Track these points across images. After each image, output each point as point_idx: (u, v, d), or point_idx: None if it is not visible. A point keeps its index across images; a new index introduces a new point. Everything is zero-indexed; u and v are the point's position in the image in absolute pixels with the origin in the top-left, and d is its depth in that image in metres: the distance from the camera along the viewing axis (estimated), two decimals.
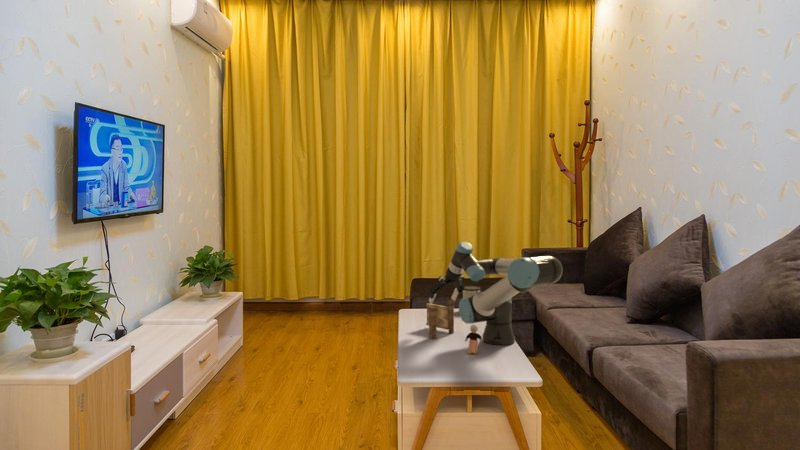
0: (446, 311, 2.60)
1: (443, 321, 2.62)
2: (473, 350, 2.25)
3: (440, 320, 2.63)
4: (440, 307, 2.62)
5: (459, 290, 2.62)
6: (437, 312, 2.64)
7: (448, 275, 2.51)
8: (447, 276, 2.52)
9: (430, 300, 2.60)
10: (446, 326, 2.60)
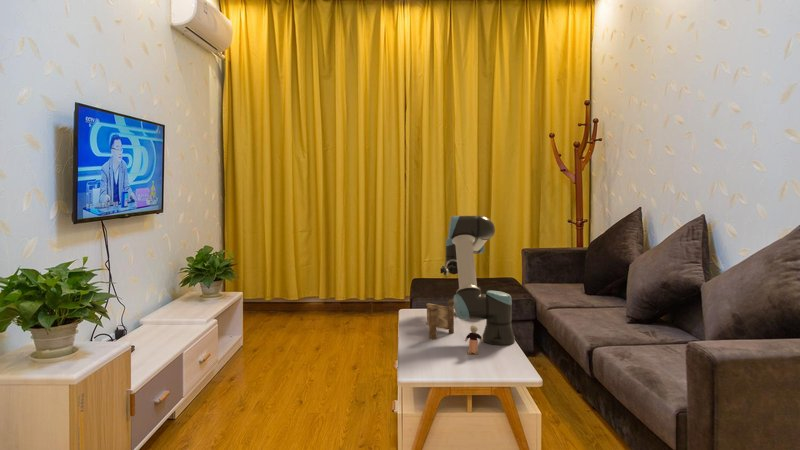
0: (446, 311, 2.60)
1: (443, 321, 2.62)
2: (473, 350, 2.25)
3: (440, 320, 2.63)
4: (440, 307, 2.62)
5: None
6: (437, 312, 2.64)
7: (446, 265, 2.90)
8: (446, 266, 2.89)
9: (446, 273, 2.71)
10: (446, 326, 2.60)
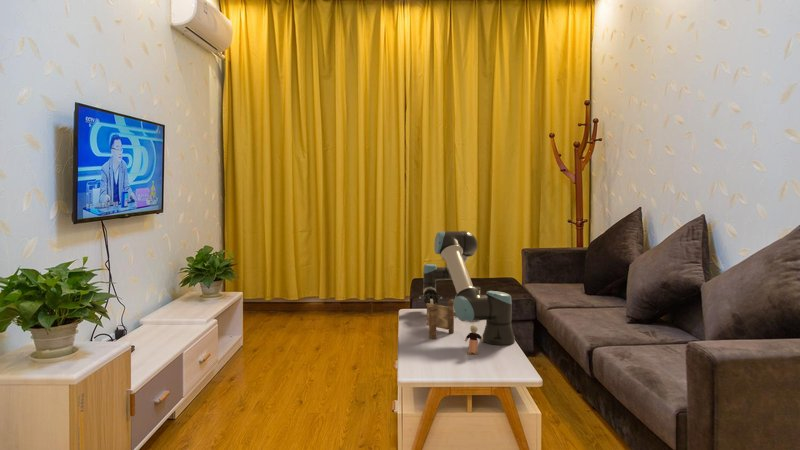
0: (446, 311, 2.60)
1: (443, 321, 2.62)
2: (473, 350, 2.25)
3: (440, 320, 2.63)
4: (440, 307, 2.62)
5: (433, 298, 2.79)
6: (437, 312, 2.64)
7: None
8: None
9: (430, 303, 2.73)
10: (446, 326, 2.60)
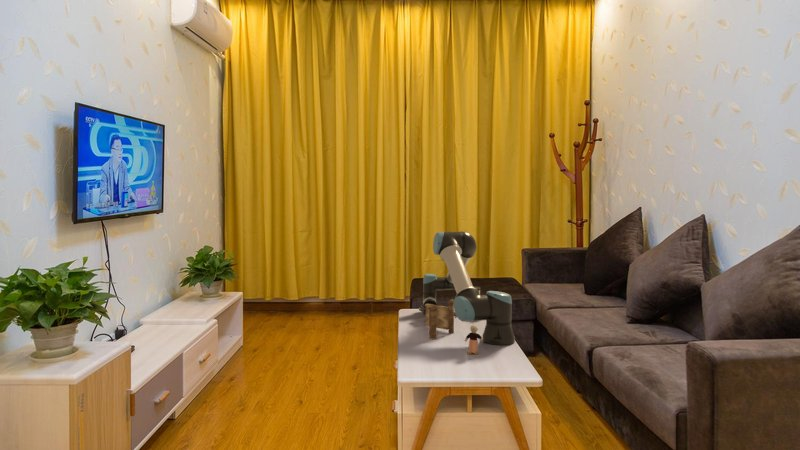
0: (446, 311, 2.60)
1: (443, 321, 2.61)
2: (473, 350, 2.25)
3: (440, 320, 2.62)
4: (440, 307, 2.62)
5: None
6: (436, 312, 2.63)
7: None
8: None
9: None
10: (446, 326, 2.60)
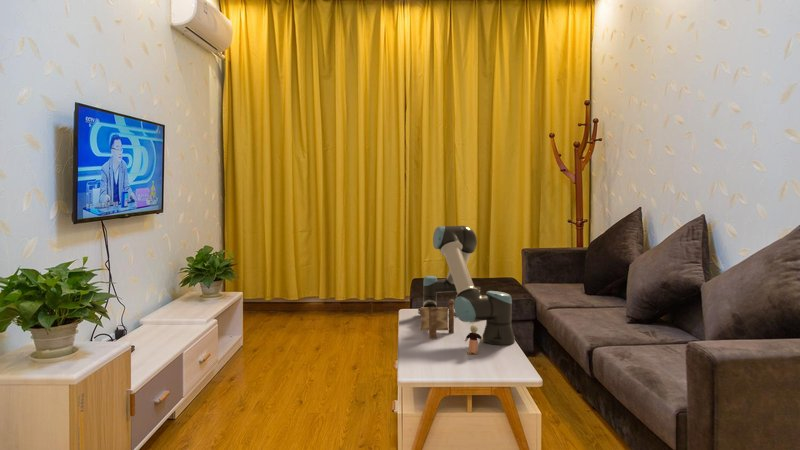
0: (446, 312, 2.58)
1: (442, 322, 2.59)
2: (473, 350, 2.25)
3: (438, 322, 2.59)
4: (439, 309, 2.58)
5: None
6: None
7: None
8: None
9: None
10: (446, 327, 2.59)
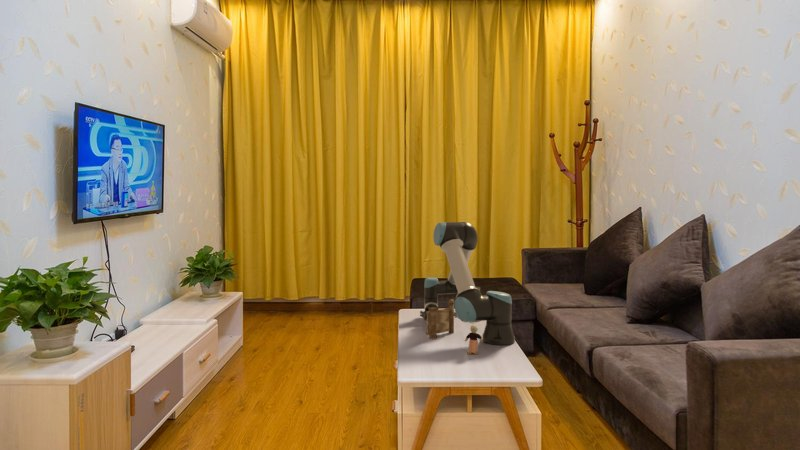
0: (448, 312, 2.57)
1: (445, 324, 2.56)
2: (473, 350, 2.25)
3: (442, 324, 2.55)
4: (443, 310, 2.55)
5: None
6: (439, 317, 2.54)
7: None
8: None
9: None
10: (448, 328, 2.57)
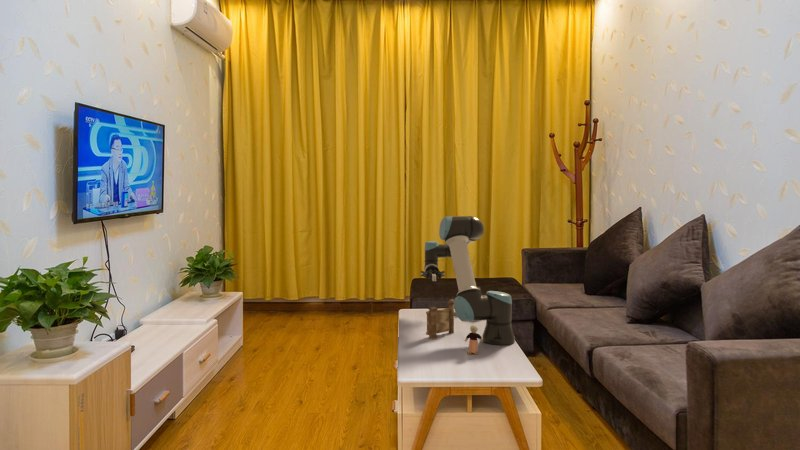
0: (448, 312, 2.57)
1: (445, 324, 2.56)
2: (473, 350, 2.25)
3: (442, 324, 2.55)
4: (443, 310, 2.55)
5: None
6: (439, 317, 2.54)
7: None
8: None
9: (432, 278, 2.65)
10: (448, 328, 2.57)
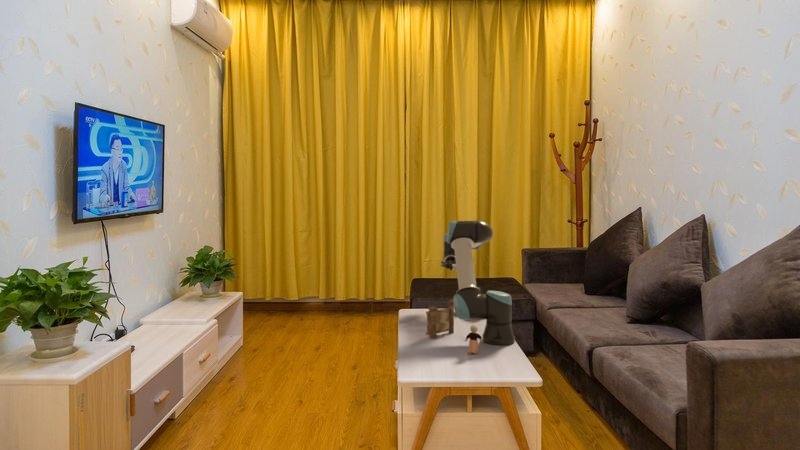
0: (448, 312, 2.57)
1: (445, 324, 2.56)
2: (473, 350, 2.25)
3: (442, 324, 2.55)
4: (443, 310, 2.55)
5: (455, 263, 2.82)
6: (439, 317, 2.54)
7: None
8: None
9: (453, 268, 2.76)
10: (448, 328, 2.57)
